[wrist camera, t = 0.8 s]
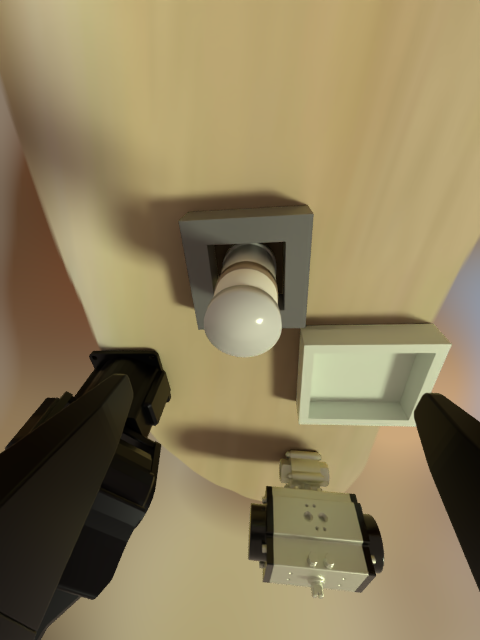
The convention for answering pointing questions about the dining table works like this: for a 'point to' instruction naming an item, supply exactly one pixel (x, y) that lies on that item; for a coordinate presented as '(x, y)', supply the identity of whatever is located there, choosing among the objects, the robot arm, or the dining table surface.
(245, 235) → the grey square frame
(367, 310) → the dining table surface
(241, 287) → the white light bulb
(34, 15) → the dining table surface
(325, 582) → the pneumatic valve
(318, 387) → the parts tray
